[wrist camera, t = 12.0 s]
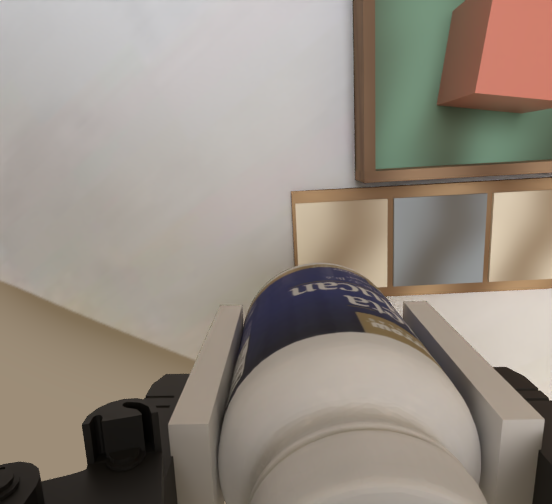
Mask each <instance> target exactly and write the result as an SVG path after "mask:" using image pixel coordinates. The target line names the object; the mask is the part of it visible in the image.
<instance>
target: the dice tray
mask: <svg viewBox="0 0 552 504" xmlns="http://www.w3.org/2000/svg"><path fill="white" fill-rule="evenodd" d="M464 1H465V0H353V47H354V121H355V180H358V181H360V182H363V183H371V182H390V181H408V180H426V179H444V178H462V177H480V176H498V175H516V174H534V173H552V108H550V109H544V110H539V111H533V112H527V113H511V112H501V111H491V110H480V109H470V108H460V107H450V106H439V105H437V100H438V94H439V88H440V82H441V76H442V71H443V65H444V59H445V53H446V47H447V41H448V35H449V30H450V24H451V18H452V12H453V10H455V9H456V8H457V7H458V6H459V5H461V4H462V3H463V2H464Z"/></svg>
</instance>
